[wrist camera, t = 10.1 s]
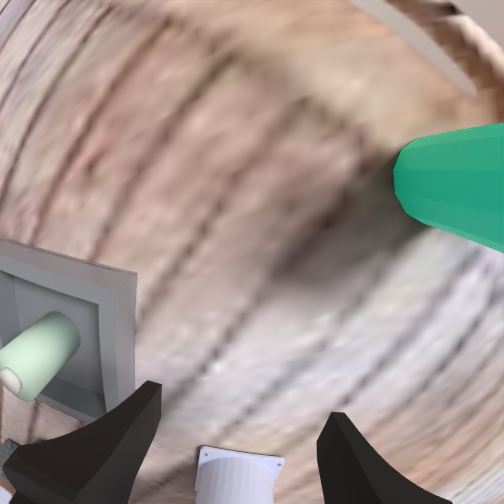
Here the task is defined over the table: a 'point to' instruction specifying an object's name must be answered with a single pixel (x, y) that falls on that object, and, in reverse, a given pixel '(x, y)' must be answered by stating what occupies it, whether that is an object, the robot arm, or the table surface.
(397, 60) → the table surface
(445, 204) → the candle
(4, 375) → the cylinder
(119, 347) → the bin
